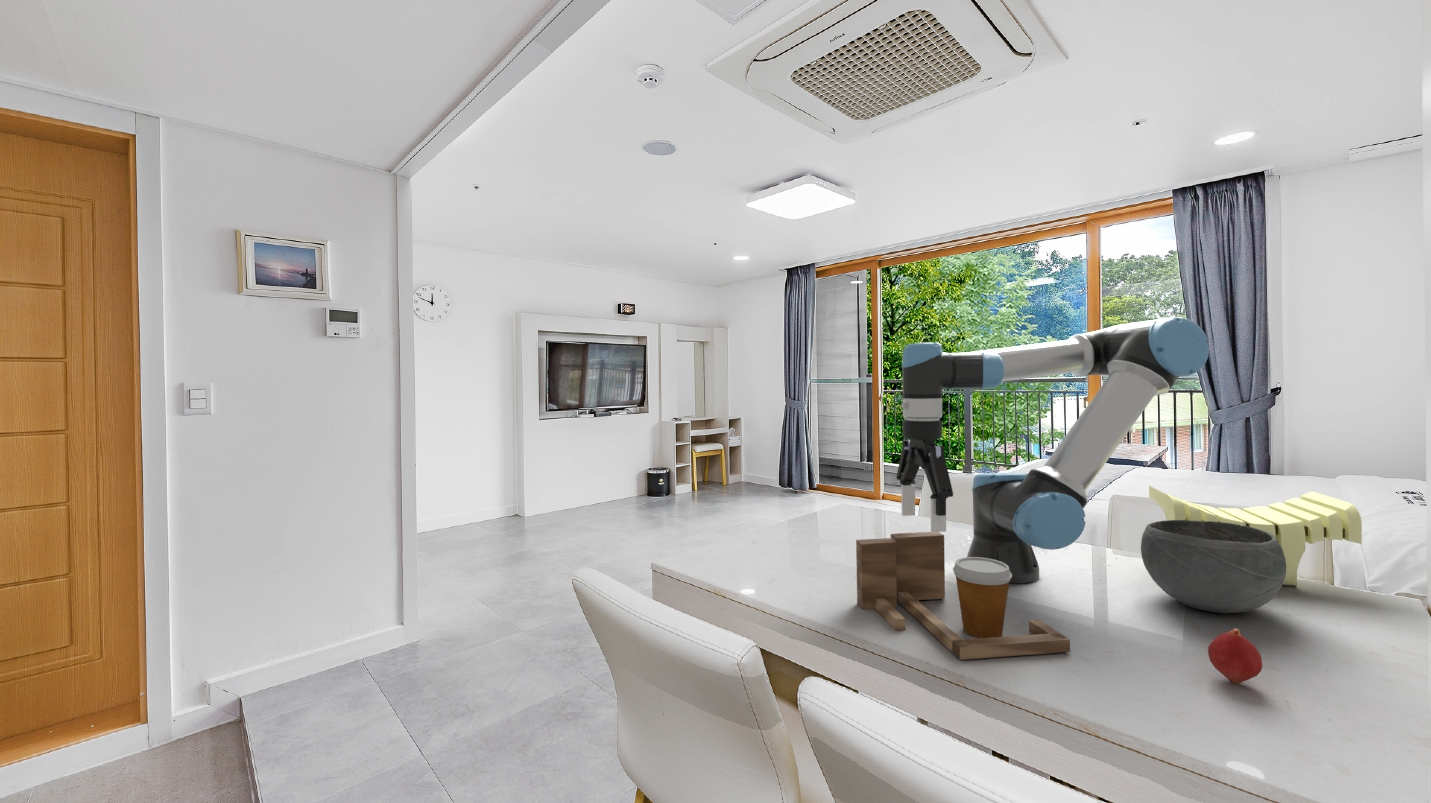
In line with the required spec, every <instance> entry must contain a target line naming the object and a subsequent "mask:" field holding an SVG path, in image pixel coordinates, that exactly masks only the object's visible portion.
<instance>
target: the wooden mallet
mask: <svg viewBox="0 0 1431 803" xmlns="http://www.w3.org/2000/svg"><path fill="white" fill-rule="evenodd" d="M855 546H856V548H855V549H856V550H855V552H856V557H855V559H856V603H857V605H858V606H859V607H860V609H862V610H872V609H873V610H874V609H875V610H876V611H877V612H878V613H879V614H880V616H882V618H884V620H885V621H886V622H887V623H888V624H889V625H890V626H891V628H893V630H895V631H905V630H906V618H905V617H904V616H903V615H902V614H901V613H900V611H898V610H897V609H896V608H898V604H897V592H896V542H895V541H893V540H892V539H891V537H885V538H867V539H856V540H855Z"/></svg>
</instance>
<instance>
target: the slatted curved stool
mask: <svg viewBox="0 0 1431 803" xmlns="http://www.w3.org/2000/svg"><path fill="white" fill-rule="evenodd" d="M1148 497H1149V499H1151V500H1153V501H1154V502H1155V503H1156V504H1157V505H1159V506H1160V507H1161V510H1162V511H1163V514H1164V516H1165V521H1166V520H1189V521H1213V522H1224V523H1232V524H1238V525H1241V526H1248V527H1253V528H1257V529H1261V530H1263V531H1266V532H1268V533H1271V534H1273V535H1274V536H1275V537H1276V538H1277V540H1278V542H1279V544H1280V545H1281V547H1282V550H1283V553H1284V556H1285V560H1286V576H1285V580H1284V582H1283V585H1282V586H1295V587H1297V586H1298V568H1299V565H1300V563H1301V562H1300V561H1301V560H1302V558H1303V555H1304V553H1305V552H1306V543H1307V544H1310V545H1313V544H1315V543H1318V542H1321V541H1324V539H1328V540H1332V541H1333V540H1334V541H1343V540H1345V541H1347V542H1350V543H1351V542H1352V543H1355V544H1359V545H1362V541H1363V540H1362V537H1363V536H1362V532H1363V531H1362V528H1363V526H1362V525H1363V522H1362V517H1361V515H1360V512H1359V510H1358V509H1357V506H1355V505H1354V504H1353V503H1352V502H1348V501H1345V500H1342V499H1338V498H1336V497H1332V496H1328V495H1327V494H1326V495H1325V494H1322V493H1319V492H1315V491H1309V492H1307V493H1304V494H1302V495H1300V498H1298V497H1293V498H1290V499H1286V500H1284V503H1282V502H1280V501H1279V502H1275V503H1272V504H1271V503H1270V504H1268V507H1267V506H1264V505H1262V506H1261V505H1260V506H1252V507H1244V508H1242V509H1239V508H1238V507H1237V508H1236V507H1235V508H1230V507H1229V508H1228V507H1227V508H1226V507H1217V508H1215V507H1213V506H1209V505H1204V504H1200V503H1199V504H1198V503H1194V502H1191V501H1190V502H1189V501H1187V500H1185V499H1182V498H1178V497H1175V496H1173V495H1170V494H1168V493H1166V492H1163V491H1162V490H1161V491H1160V490H1159V489H1157V488H1155V487H1154V486H1151V485H1149V486H1148Z"/></svg>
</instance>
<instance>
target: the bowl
mask: <svg viewBox="0 0 1431 803" xmlns="http://www.w3.org/2000/svg"><path fill="white" fill-rule="evenodd" d="M1140 554H1141V555H1140V556H1141V560H1142V562H1143V565H1144V568H1145V569H1146V571H1147V573H1148V574H1149V576H1150V577H1151V579H1152V580H1153V581H1154V582H1155V584H1156V585H1157V586H1158V587H1159V588H1160V589H1161V590H1162V591H1164V593H1165V594H1167V595H1168V596H1169V597H1171V598H1172V599H1174V600H1176V601H1177V602H1180V603H1181V604H1183V605H1185V606H1188V607H1190V608H1193V609H1197V610H1201V611H1205V612H1210V613H1220V614H1232V613H1234V614H1235V613H1236V614H1239V613H1246V612H1250V611H1254V610H1256V609H1258V608H1261V607H1263V606H1264V605H1265V604H1268V602H1271V600H1272V599H1274V598H1275V597H1276V596H1277V595H1278V593H1279V592H1280V590H1281V589H1282V586H1284V585H1283V582H1284V580H1285V576H1286V560H1285V556H1284V553H1283V550H1282V547H1281V545H1280V544H1279V542H1278V540H1277V538H1276V537H1275V536H1274V535H1273V534H1271V533H1268V532H1266V531H1263V530H1261V529H1257V528H1253V527H1248V526H1241V525H1238V524H1232V523H1224V522H1213V521H1189V520H1166V519H1165V520H1160V521H1159V520H1158V521H1155V522H1150V523H1148V524H1147V525H1146V526H1145V528H1144V531H1143V533H1142V536H1141V542H1140Z"/></svg>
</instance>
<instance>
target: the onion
mask: <svg viewBox="0 0 1431 803" xmlns="http://www.w3.org/2000/svg"><path fill="white" fill-rule="evenodd" d="M1207 654H1208V658H1209V662H1210V663H1211V664H1212V666H1213V668H1215V669H1216V670H1217V671H1218V672H1219V673H1220V674H1222V675H1223V677H1225V678H1227V680H1229V682H1231V683H1233V684H1242V683H1244V682H1246V681H1248V680H1251V679H1253V678H1256V677H1257V676H1258V675H1259V674H1260V673H1261V672H1262V668H1263V658H1262V656H1261V653H1260V651H1259V650H1258V648H1257V647H1256V646H1255V645H1254V644H1253V643H1252V642H1251V641H1250V640H1249V639H1247V638H1246V637H1244V636H1243V635H1242V634H1241V631H1240V629H1238V628H1232V630H1230V631H1227V632H1224V633H1222V634H1219V635H1217V636H1216V637H1215V638H1214V639H1213V640H1211V642H1210V643H1209V644H1208V647H1207Z"/></svg>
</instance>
